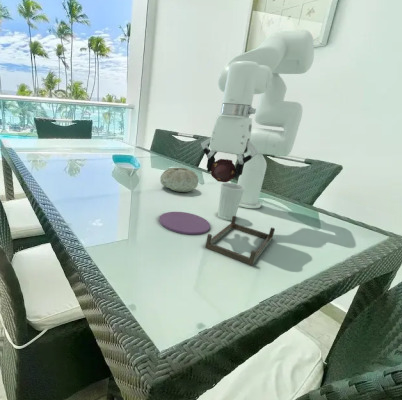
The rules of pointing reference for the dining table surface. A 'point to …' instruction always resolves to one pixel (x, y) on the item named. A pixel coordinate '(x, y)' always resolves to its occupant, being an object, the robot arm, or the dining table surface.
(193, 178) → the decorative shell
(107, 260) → the dining table surface
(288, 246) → the dining table surface
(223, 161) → the dark red rounded piece
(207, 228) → the lid
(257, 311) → the dining table surface
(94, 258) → the dining table surface
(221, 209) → the cup
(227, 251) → the frame
